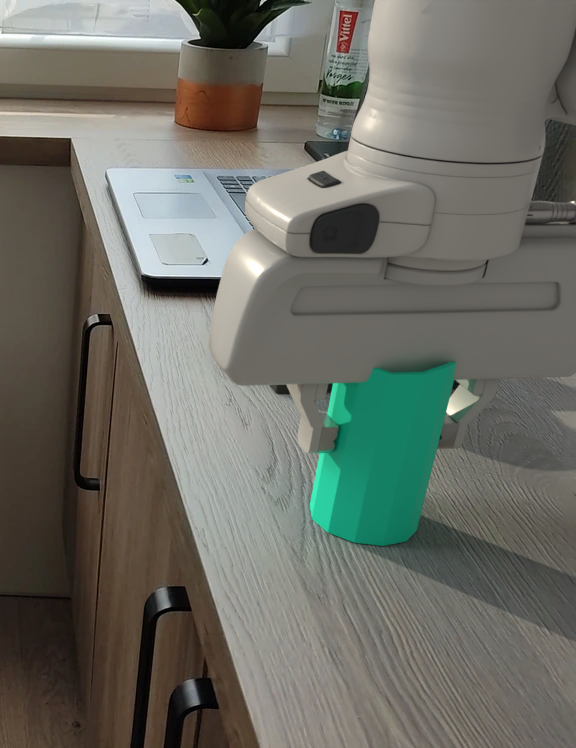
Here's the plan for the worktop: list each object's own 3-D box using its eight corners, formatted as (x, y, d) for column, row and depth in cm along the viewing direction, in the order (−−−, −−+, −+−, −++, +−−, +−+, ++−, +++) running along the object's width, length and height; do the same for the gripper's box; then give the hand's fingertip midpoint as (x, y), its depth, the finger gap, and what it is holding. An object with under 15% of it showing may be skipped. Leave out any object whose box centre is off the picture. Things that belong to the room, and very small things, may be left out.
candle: (439, 526, 63) (489, 330, 57) (371, 557, 60) (418, 353, 54) (353, 482, 67) (393, 296, 62) (287, 509, 64) (322, 316, 58)
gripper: (587, 184, 59) (521, 416, 65) (217, 187, 56) (187, 426, 63) (665, 217, 53) (585, 467, 60) (258, 221, 51) (221, 480, 57)
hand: (378, 446), depth 61 cm, fingers open, 6 cm apart
